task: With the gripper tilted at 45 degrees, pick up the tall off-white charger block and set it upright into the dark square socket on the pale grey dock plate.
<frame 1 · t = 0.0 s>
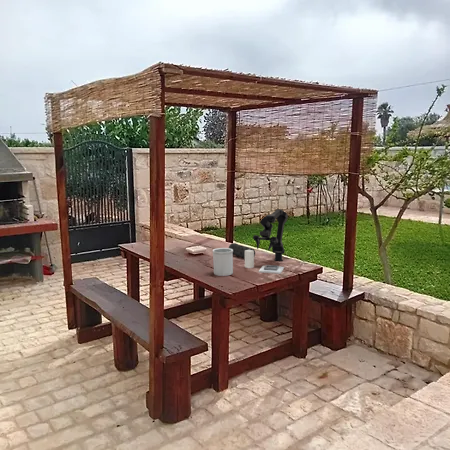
hand: (262, 249, 322), 15 cm above the table, tool tilted 35°, fingers open, 9 cm apart
charger: (249, 267, 330), on the table
utensil holder: (223, 273, 312), on the table
muzzle brake: (241, 257, 363), on the table
dock plate: (271, 270, 320), on the table
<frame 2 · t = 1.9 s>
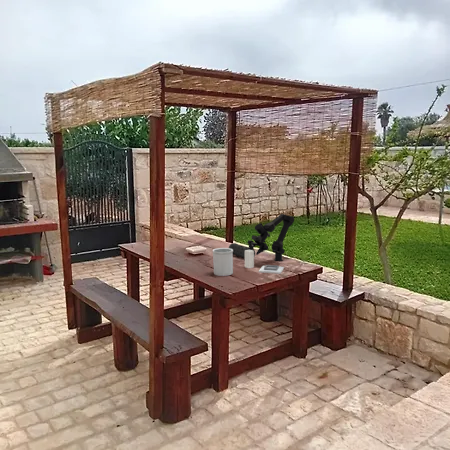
hand: (252, 253, 330), 10 cm above the table, tool tilted 45°, fingers open, 9 cm apart
nothing on the table moved.
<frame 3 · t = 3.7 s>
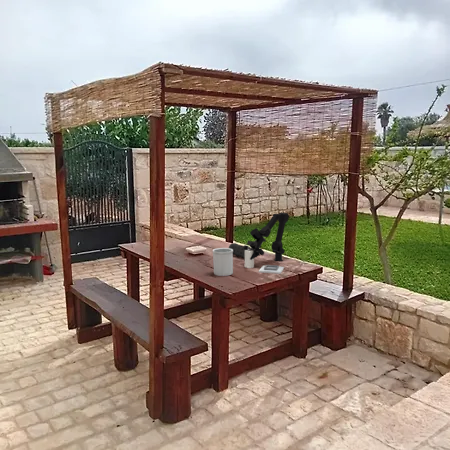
hand: (247, 259, 328), 7 cm above the table, tool tilted 45°, fingers closed on charger, 5 cm apart
charger: (249, 267, 330), on the table, touching gripper
everything else where it was.
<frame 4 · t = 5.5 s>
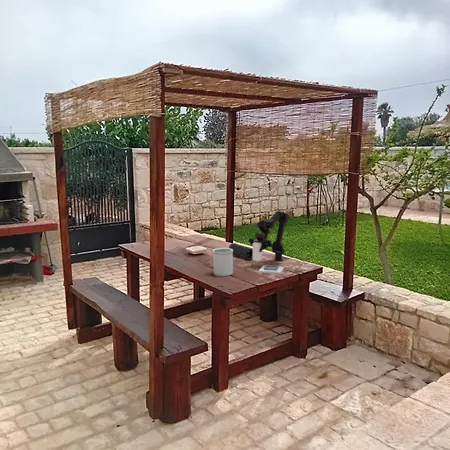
hand: (256, 251, 321), 13 cm above the table, tool tilted 45°, fingers closed on charger, 5 cm apart
charger: (257, 259, 324), point 7 cm above the table, touching gripper
everything else where it was.
when the fingers open (9 cm above the table, at t = 7.7 s): charger stays where it is, resting on dock plate.
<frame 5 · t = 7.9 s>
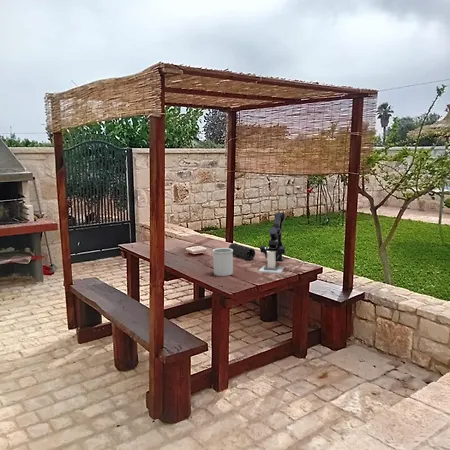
hand: (271, 259, 317), 9 cm above the table, tool tilted 45°, fingers open, 7 cm apart
charger: (271, 268, 319), point 1 cm above the table, touching dock plate
everything else where it was.
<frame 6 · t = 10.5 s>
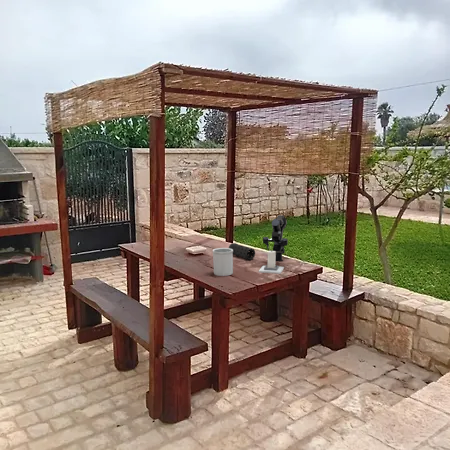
hand: (274, 250, 325), 13 cm above the table, tool tilted 45°, fingers open, 9 cm apart
nothing on the table moved.
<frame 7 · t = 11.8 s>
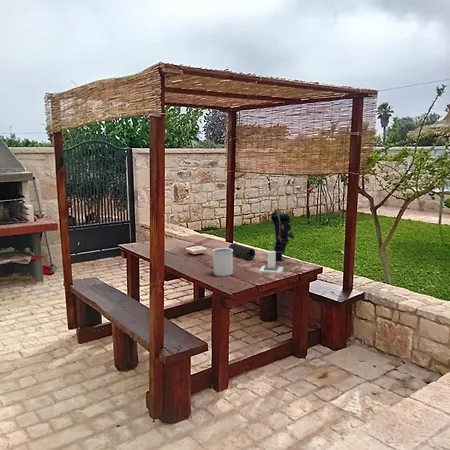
hand: (283, 249, 335), 12 cm above the table, tool pointing down, fingers open, 9 cm apart
nothing on the table moved.
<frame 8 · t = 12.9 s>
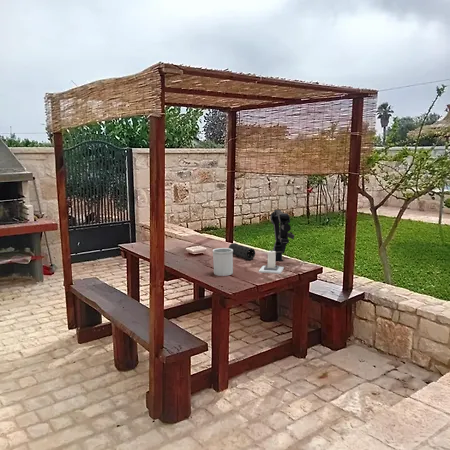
hand: (283, 249, 335), 12 cm above the table, tool pointing down, fingers open, 9 cm apart
nothing on the table moved.
at the end: charger 0.0 cm off-centre on the dock plate, point 1.2 cm above the dock plate's base; charger tilted 0°; the gripper is holding nothing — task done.
